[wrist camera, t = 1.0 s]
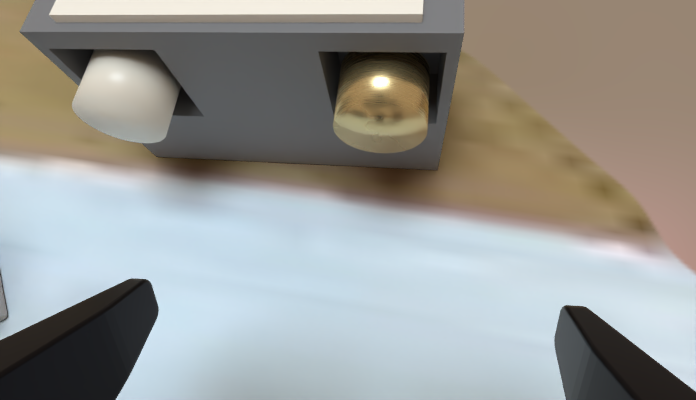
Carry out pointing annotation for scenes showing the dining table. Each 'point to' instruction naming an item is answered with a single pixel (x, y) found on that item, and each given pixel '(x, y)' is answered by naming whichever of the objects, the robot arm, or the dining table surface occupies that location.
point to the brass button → (382, 101)
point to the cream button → (127, 95)
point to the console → (261, 68)
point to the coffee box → (2, 304)
